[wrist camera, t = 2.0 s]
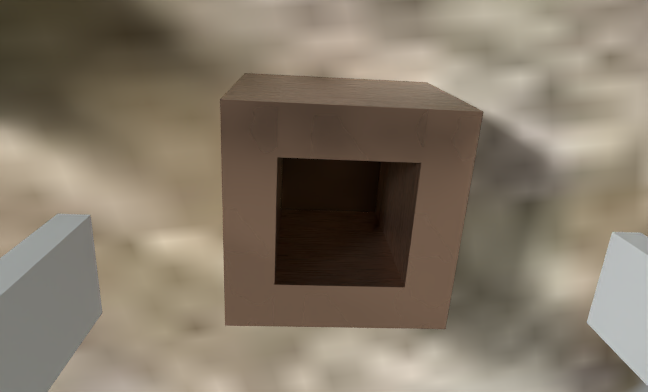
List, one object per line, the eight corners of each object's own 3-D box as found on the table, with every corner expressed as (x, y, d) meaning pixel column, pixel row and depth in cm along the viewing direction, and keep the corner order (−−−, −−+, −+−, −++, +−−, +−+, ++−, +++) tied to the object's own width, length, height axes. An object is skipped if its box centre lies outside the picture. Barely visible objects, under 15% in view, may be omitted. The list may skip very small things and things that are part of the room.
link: (244, 73, 18) (220, 99, 12) (426, 82, 18) (483, 111, 13) (245, 240, 20) (225, 325, 15) (405, 244, 21) (445, 328, 15)
